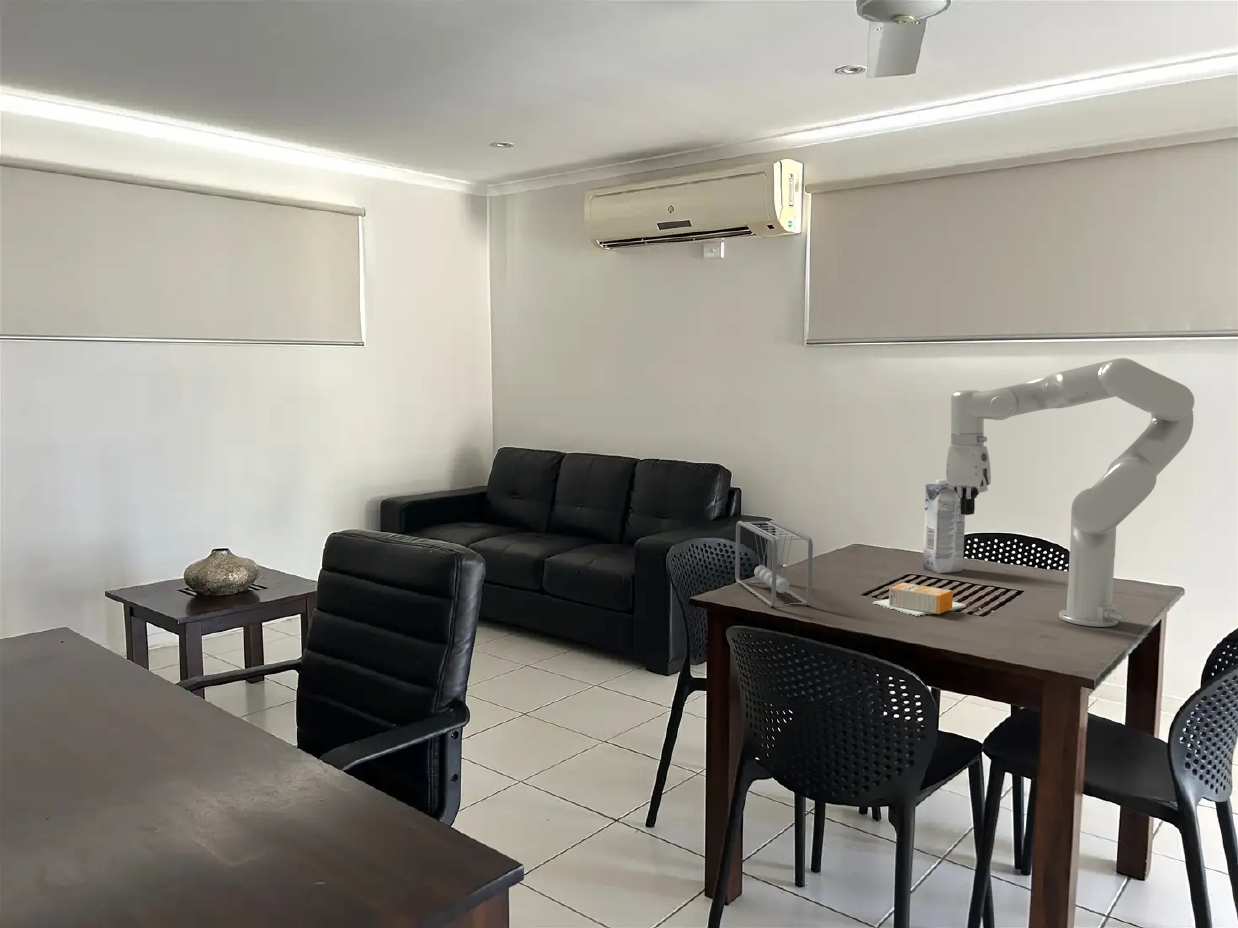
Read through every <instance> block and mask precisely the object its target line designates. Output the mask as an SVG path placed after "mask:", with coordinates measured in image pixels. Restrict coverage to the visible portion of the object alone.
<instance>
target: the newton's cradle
mask: <svg viewBox="0 0 1238 928" xmlns="http://www.w3.org/2000/svg"><path fill="white" fill-rule="evenodd" d="M754 524H763V527H767V530H764V529H763V528H761V527H760V528H759V526H757V525H754ZM764 524H767V525H764ZM735 526H736V527H735V568H734V570H735V571H734V572H735V581H736V584H738V583H741V584H743V585H744V586H745V587H746V588H748V589H749V590H750V591H751V592H752V593H755V594H756V595H757V596H759V598H762V599H763V600H764V601H765V602H767V603H768V604H770V605H772V606H774V607H776V606H775V604H777V593H781V594H784V593H785V592H786V591H787V592H788V593H791V594H792V595H793V596H794V597H795V598H798V599H800V600H801V601H802V602H803V603H804V604H810V605H811V603H812V595H813V593H812V591H813V587H812V586H813V555H814V554H813V550H814V549H813V548H814V547H813V546H814V543H813V540H812V538H811V537H810V536H809V535H807V534H804V533H802V532H800V531H798V530H796V529H793V528H791V527H788V526H787V525H784V524H782V523H780V522H778V521H776V520H774V519H770V520H769V521H744V522H743V521H742V520H738V521H737V522H736V525H735ZM741 527H743V528H745V529H747V530H748V531H750V532H752V533H754V536H755V538H757V535H758V536H759V540H760V547H761V552H762V556H763V557H762V558H763V559H762V560H763V561H762V564H761V561H760V555H759V552H757V555H758V557H757V558H758V562H759V565H758V566H756V567H755V569H754V571H753V573H754V576H755V577H756V578H757V579H758V580H749V581H750V582H751V583H759V582H758V581H759V580H760V581H763V582H762V583H765V584H766V585H768V586H770V587H771V601H770V600H768V599H767V598H765V597H764V596H763V595H762V594H760V593H758V592H757V591H756V590H754V589H753V588H751V587H750V586H749V585H747V583H742V582H746V581H745V580H744V581H742V580H741V576H740V567H741V566H740V560H741V559H740V557H741V556H740V554H741ZM773 528H775V529H774V530H773ZM774 531H775V532H774ZM777 531H780V532H779V536H777V535H776V534H777ZM773 532H774V535H773ZM782 532H783V533H785V535H784V537H785V538H781V537H782ZM787 534H788V535H787ZM787 536H789V538H787ZM790 537H791V538H790ZM762 538H763V539H764V544H765V552H764V551H763V545H762ZM793 540H794V541H795V540H796V541H797V540H798V541H799V540H801V541H802V540H805V541H807V578H806V579H807V581H806V583H807V584H806V600H805V599H804V598H803V597H801V596H799V595H798V594H796V593H795V592H793V591H792V590H790V583H789V581H788V579H786V578H785V573H786V568H787V564H788V558H789V554H790V550H791V544H792V541H793ZM777 541H778V543H777ZM780 541H784V544H783V547H782V552H781V557H780V562H779V558H778V550H779V545H780ZM786 541H790V542H789V547H788V552H787V558H786V562H785V565H784V566H785V567H784V572H783V577H782V576H781V574H780V573H781V570H780V569H781V565H782V564H781V563H782V558H783V554H784V550H785V544H786ZM755 542H756V550H757V551H759V549H758V546H759V545H758V542H757V539H755ZM766 556H767V564H766V563H765V562H766V561H765V558H766ZM766 565H767V566H766ZM777 565H778V566H777ZM777 567H778V568H777ZM777 569H778V571H777ZM756 581H757V582H756ZM803 603H801V602H798V603H797V602H796V603H790V604H803ZM804 604H803V605H804Z"/></svg>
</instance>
